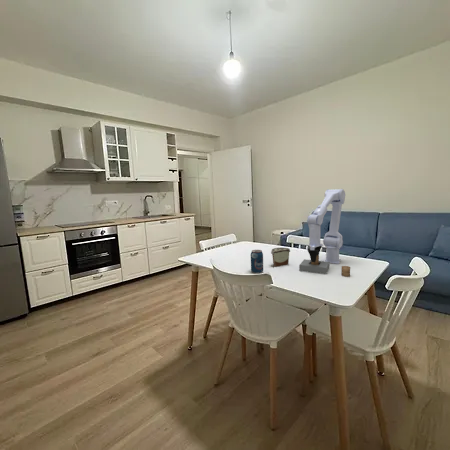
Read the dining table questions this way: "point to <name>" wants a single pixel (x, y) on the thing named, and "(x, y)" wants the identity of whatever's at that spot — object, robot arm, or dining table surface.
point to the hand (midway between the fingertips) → (314, 260)
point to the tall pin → (316, 261)
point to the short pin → (345, 271)
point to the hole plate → (314, 267)
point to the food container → (280, 256)
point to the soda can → (256, 261)
